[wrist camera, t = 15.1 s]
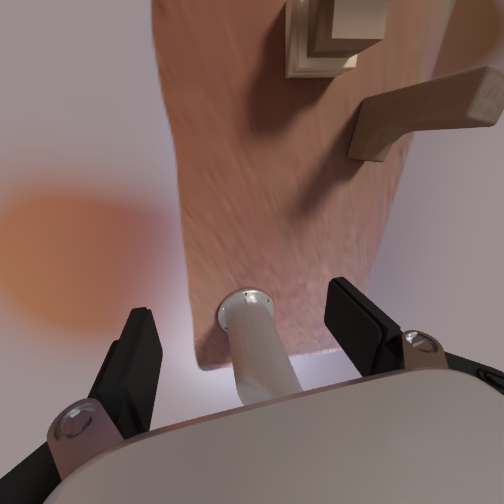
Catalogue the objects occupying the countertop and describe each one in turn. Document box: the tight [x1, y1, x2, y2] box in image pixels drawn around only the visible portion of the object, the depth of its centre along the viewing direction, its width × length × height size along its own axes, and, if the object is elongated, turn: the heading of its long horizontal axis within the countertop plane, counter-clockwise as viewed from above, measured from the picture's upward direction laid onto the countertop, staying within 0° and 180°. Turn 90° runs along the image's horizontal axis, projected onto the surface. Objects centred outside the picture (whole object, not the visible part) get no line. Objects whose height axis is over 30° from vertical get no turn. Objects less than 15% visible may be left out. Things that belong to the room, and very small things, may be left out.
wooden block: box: [347, 65, 504, 162], centre depth 31 cm, size 9×4×18 cm, turn 172°
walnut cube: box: [307, 0, 390, 58], centre depth 24 cm, size 6×6×6 cm
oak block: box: [285, 0, 357, 78], centre depth 29 cm, size 8×8×5 cm
